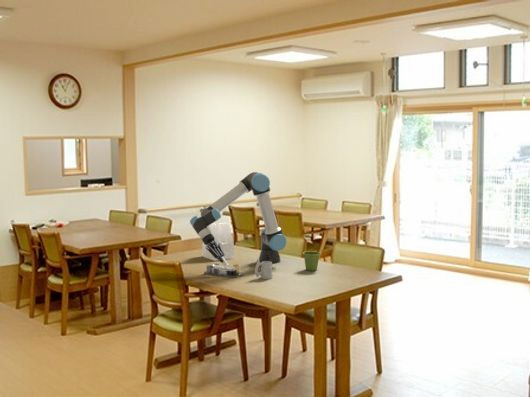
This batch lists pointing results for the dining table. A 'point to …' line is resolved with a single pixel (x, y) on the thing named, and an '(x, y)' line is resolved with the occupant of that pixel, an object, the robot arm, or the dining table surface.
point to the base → (224, 272)
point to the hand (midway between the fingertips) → (226, 265)
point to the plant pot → (311, 260)
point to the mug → (264, 269)
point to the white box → (220, 241)
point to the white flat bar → (222, 267)
